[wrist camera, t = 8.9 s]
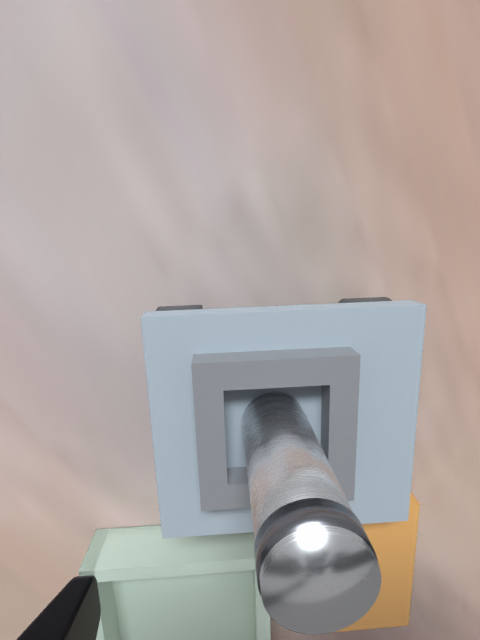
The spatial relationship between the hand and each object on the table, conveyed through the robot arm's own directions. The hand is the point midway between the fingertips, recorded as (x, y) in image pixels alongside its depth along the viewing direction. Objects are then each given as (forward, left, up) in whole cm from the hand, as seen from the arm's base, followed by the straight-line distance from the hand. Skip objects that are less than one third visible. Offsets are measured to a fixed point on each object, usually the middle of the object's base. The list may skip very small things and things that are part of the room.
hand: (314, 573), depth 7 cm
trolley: (0, -1, -11) cm, 11 cm away
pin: (0, 0, -6) cm, 6 cm away
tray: (-14, +4, -11) cm, 18 cm away
